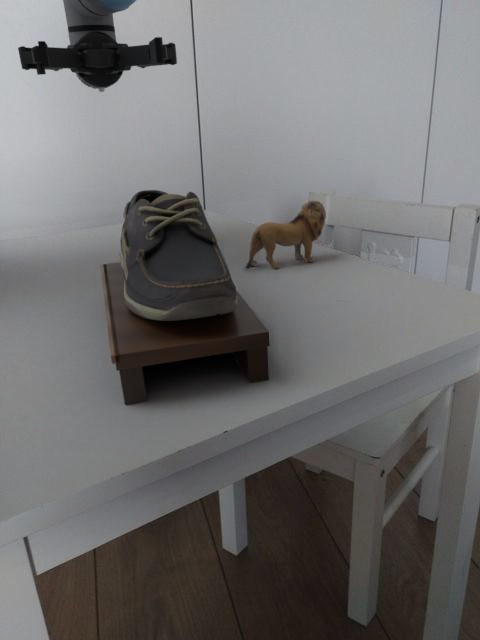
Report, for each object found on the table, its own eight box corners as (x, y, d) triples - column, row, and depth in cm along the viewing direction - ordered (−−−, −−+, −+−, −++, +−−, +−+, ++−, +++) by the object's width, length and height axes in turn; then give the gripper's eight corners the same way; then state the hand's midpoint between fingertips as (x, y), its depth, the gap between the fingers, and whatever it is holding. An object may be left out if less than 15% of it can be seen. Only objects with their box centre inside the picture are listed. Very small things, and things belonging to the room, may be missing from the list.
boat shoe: (151, 349, 50) (135, 227, 45) (98, 266, 74) (83, 182, 70) (265, 326, 54) (260, 211, 49) (178, 254, 78) (170, 173, 74)
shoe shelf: (106, 300, 77) (100, 264, 75) (209, 286, 81) (206, 252, 79) (119, 406, 51) (110, 355, 49) (271, 379, 55) (269, 331, 52)
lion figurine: (313, 251, 95) (313, 196, 91) (333, 258, 91) (334, 201, 87) (237, 268, 88) (233, 209, 85) (255, 276, 84) (252, 215, 80)
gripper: (181, 84, 92) (206, 82, 74) (17, 91, 86) (-1, 91, 68) (176, 31, 89) (201, 15, 70) (5, 35, 83) (-16, 18, 65)
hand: (102, 52), depth 69 cm, fingers open, 13 cm apart
